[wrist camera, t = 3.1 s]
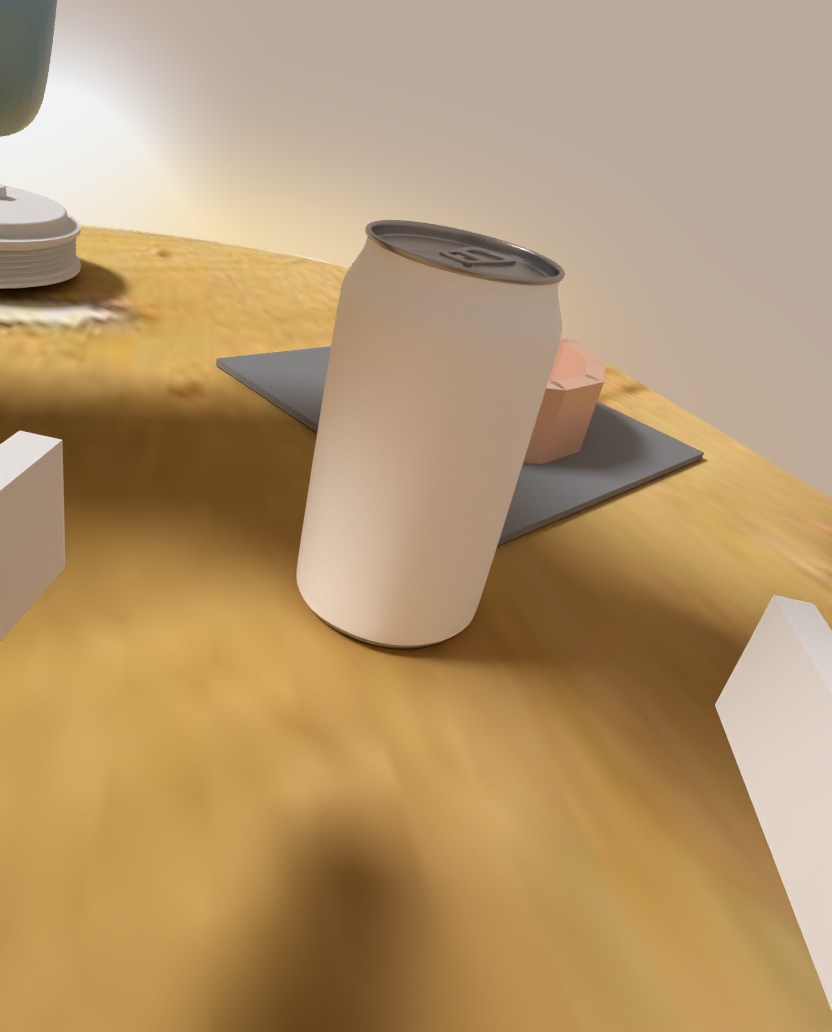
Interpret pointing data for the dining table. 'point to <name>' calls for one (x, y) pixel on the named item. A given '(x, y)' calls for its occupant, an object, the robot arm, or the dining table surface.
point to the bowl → (566, 403)
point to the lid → (35, 240)
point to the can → (423, 428)
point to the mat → (540, 487)
